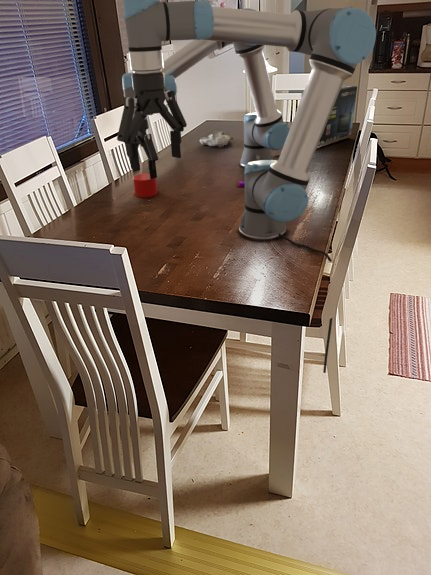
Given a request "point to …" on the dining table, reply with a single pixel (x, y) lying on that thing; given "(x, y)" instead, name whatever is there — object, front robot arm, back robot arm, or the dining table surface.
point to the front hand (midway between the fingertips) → (156, 163)
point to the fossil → (217, 139)
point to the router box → (340, 115)
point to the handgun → (241, 183)
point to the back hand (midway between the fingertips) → (145, 174)
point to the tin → (144, 185)
